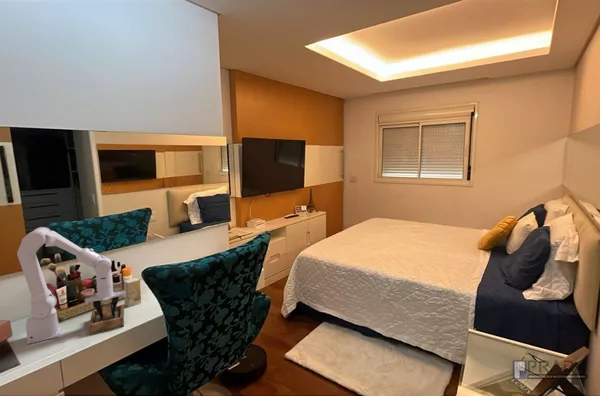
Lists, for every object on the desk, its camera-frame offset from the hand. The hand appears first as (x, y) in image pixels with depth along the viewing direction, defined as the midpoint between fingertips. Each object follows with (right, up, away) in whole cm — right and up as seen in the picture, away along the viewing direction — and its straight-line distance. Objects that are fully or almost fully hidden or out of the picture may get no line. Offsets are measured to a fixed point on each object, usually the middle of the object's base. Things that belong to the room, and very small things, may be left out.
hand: (107, 315), depth 132 cm
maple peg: (0, -2, 0) cm, 2 cm away
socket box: (0, -3, 0) cm, 3 cm away
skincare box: (+1, -1, +18) cm, 18 cm away
